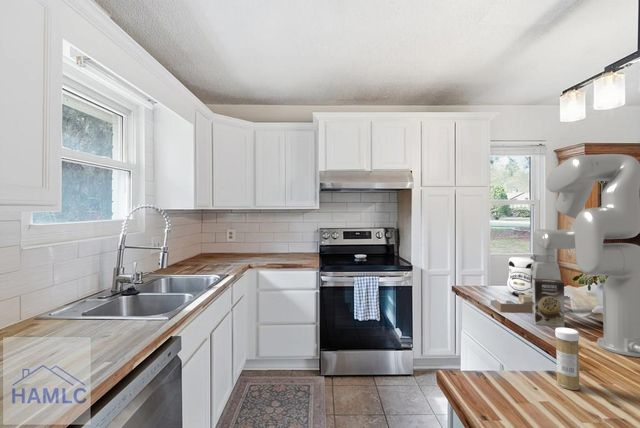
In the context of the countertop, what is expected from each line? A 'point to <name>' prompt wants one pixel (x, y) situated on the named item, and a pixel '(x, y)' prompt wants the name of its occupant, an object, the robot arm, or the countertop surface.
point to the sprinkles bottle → (567, 358)
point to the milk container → (519, 276)
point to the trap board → (512, 307)
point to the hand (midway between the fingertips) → (545, 303)
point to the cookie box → (548, 302)
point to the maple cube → (525, 299)
